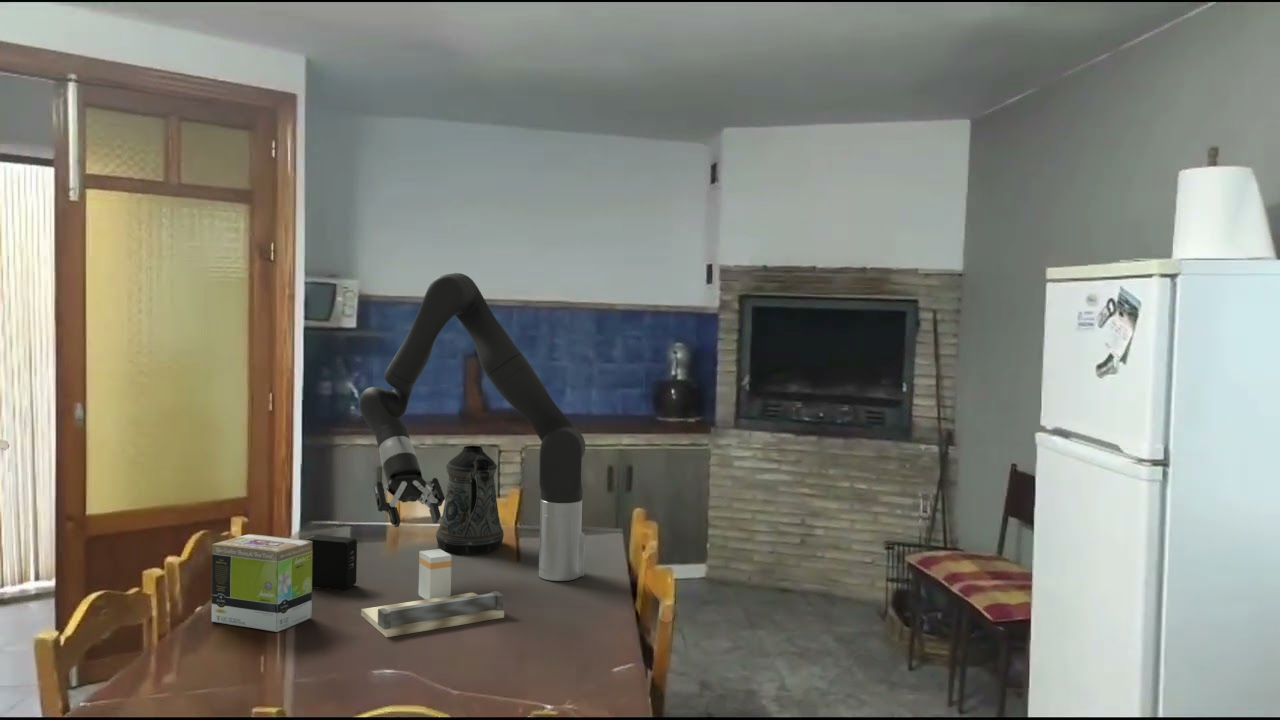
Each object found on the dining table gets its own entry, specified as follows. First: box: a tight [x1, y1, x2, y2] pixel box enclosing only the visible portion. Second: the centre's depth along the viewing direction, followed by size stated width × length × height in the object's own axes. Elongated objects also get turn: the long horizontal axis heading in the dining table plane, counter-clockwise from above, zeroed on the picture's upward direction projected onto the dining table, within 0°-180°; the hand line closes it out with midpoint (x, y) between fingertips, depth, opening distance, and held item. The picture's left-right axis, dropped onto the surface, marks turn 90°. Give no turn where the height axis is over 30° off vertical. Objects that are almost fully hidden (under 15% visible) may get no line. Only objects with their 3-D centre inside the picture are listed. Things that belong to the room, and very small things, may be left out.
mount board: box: [360, 590, 505, 638], centre depth 178 cm, size 23×14×4 cm, turn 125°
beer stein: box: [435, 445, 504, 556], centre depth 231 cm, size 16×19×25 cm
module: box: [418, 548, 453, 600], centre depth 191 cm, size 4×6×9 cm
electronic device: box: [305, 534, 358, 591], centre depth 196 cm, size 4×10×10 cm, turn 78°
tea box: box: [211, 533, 313, 633], centre depth 173 cm, size 15×10×15 cm, turn 71°
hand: (417, 523), depth 198 cm, fingers open, 8 cm apart
